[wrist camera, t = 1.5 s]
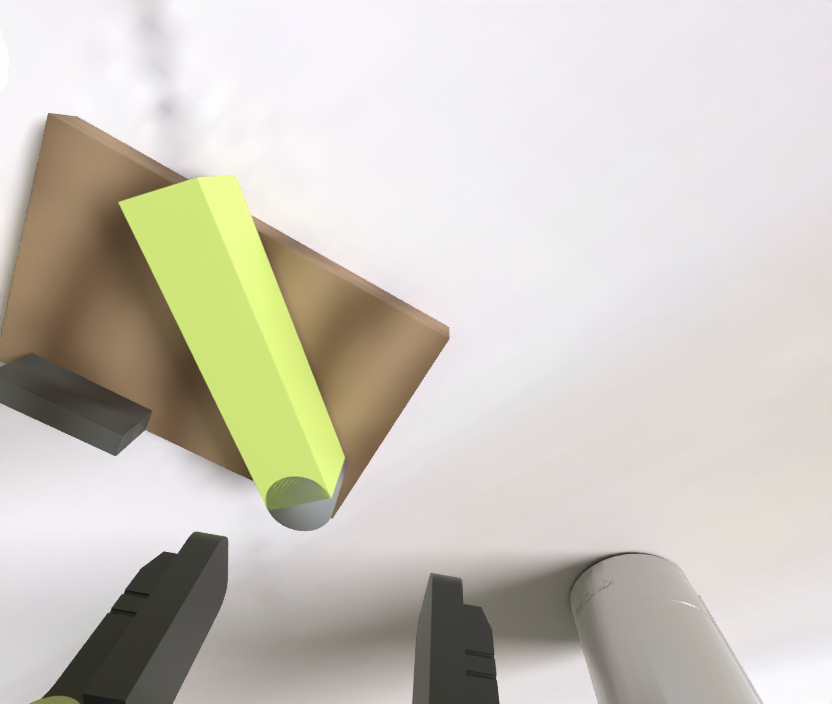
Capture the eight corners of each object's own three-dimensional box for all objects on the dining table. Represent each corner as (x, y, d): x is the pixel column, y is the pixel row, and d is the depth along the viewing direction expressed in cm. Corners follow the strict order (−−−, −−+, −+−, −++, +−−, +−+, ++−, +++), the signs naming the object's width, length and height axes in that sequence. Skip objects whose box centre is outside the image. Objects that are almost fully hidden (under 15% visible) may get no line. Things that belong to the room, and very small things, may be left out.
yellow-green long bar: (354, 481, 31) (342, 524, 27) (299, 492, 31) (280, 535, 28) (235, 175, 24) (196, 177, 20) (167, 196, 24) (118, 202, 21)
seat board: (449, 327, 29) (450, 358, 24) (338, 499, 34) (321, 551, 30) (77, 116, 25) (-5, 106, 21) (22, 346, 31) (-52, 379, 26)
